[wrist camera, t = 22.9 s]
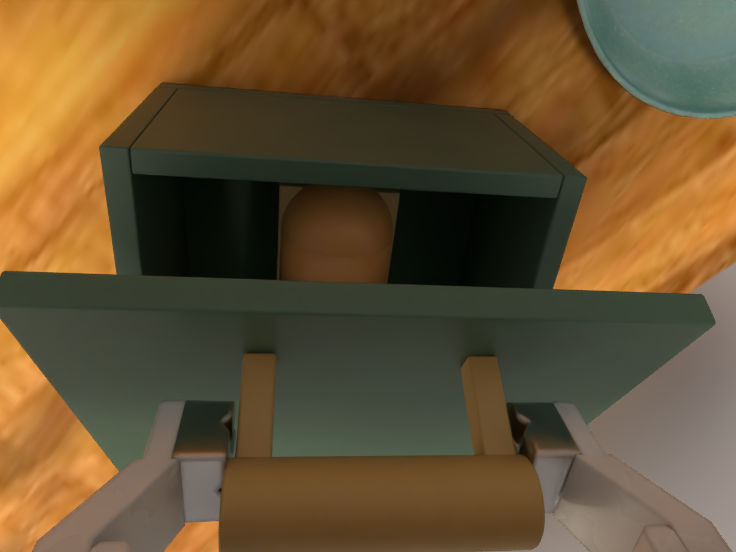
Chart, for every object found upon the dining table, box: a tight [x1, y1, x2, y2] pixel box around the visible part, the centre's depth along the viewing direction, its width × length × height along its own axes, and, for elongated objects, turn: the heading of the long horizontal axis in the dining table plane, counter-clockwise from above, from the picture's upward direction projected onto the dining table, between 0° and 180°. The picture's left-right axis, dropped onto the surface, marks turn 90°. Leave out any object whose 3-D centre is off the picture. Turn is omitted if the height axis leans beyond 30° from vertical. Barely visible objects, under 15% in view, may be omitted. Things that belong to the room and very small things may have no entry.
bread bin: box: [99, 83, 587, 289], centre depth 24 cm, size 14×15×8 cm
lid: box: [0, 271, 715, 552], centre depth 16 cm, size 14×15×5 cm
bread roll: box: [277, 183, 400, 284], centre depth 24 cm, size 8×5×5 cm, turn 174°
